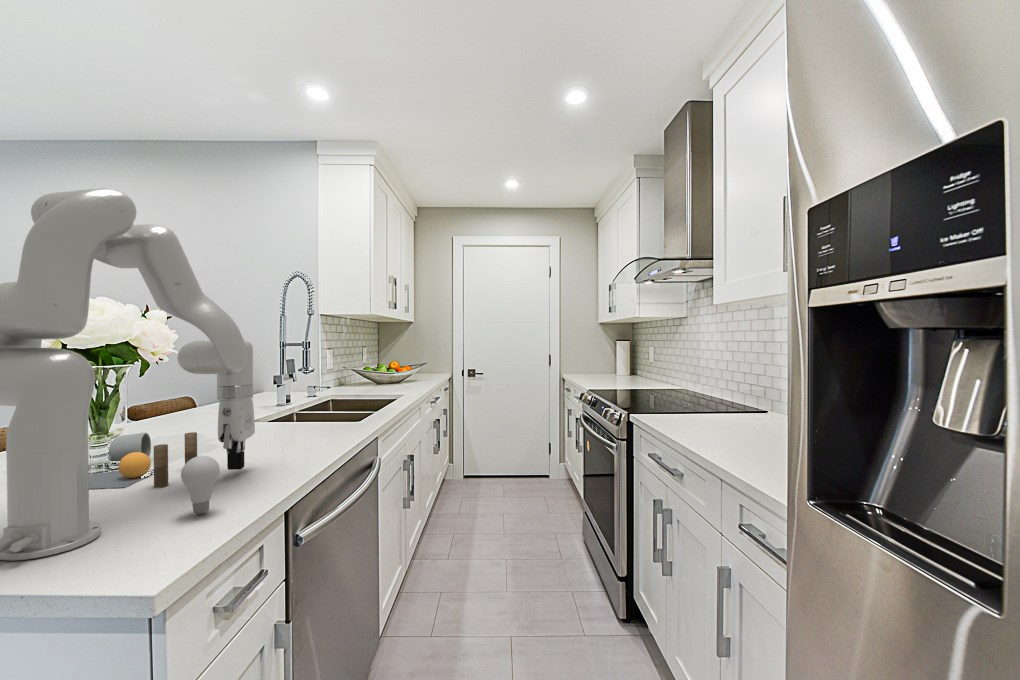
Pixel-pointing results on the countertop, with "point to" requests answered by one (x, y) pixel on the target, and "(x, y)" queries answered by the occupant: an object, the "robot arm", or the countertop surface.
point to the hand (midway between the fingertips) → (236, 468)
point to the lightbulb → (200, 481)
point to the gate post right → (190, 446)
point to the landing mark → (111, 480)
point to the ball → (134, 465)
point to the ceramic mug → (129, 446)
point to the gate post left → (160, 465)
